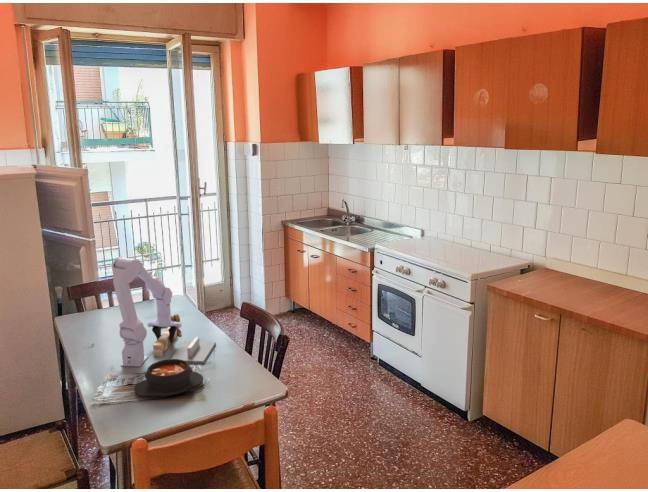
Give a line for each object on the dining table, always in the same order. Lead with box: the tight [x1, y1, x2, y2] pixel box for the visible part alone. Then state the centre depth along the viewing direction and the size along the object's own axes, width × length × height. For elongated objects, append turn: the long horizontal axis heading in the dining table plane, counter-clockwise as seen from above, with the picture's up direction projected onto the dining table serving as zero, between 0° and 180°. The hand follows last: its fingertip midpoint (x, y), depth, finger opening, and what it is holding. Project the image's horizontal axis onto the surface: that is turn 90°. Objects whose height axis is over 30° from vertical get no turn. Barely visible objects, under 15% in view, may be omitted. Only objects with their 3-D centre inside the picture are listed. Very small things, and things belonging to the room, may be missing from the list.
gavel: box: [156, 313, 182, 337], centre depth 258 cm, size 21×5×10 cm
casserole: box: [133, 358, 204, 397], centre depth 201 cm, size 25×19×8 cm
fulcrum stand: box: [170, 336, 217, 365], centre depth 231 cm, size 20×14×5 cm
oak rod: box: [152, 327, 178, 357], centre depth 240 cm, size 22×4×5 cm, turn 178°
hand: (165, 342), depth 240 cm, fingers open, 5 cm apart
